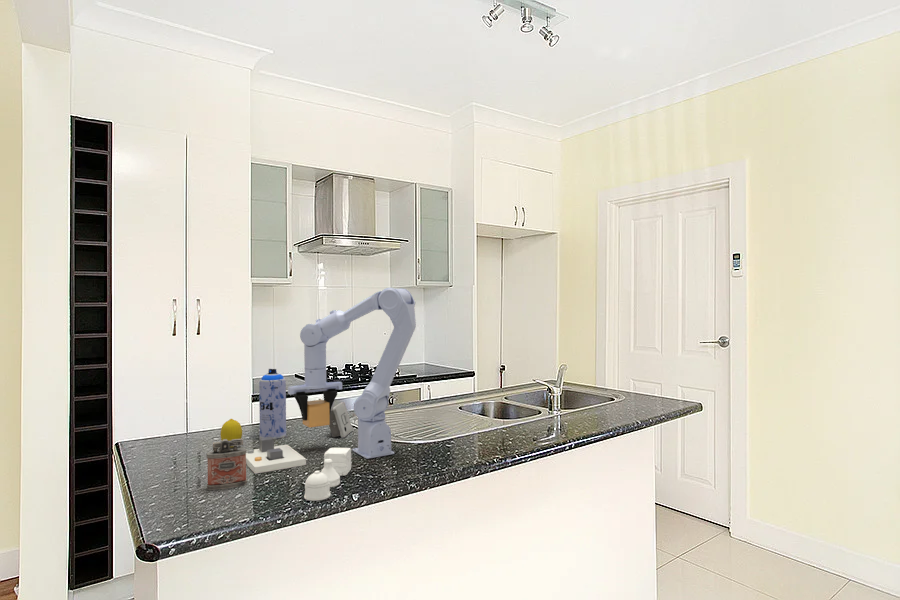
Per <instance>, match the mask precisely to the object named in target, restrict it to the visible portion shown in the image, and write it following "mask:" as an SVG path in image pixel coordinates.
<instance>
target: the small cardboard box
mask: <svg viewBox="0 0 900 600" xmlns="http://www.w3.org/2000/svg"><path fill="white" fill-rule="evenodd" d="M302 425H304V426H305V427H307V428H317V427H325V426H329V425H330V415H329V402H327V401H324V399H316V400H315V399H314V400H308V402H307V420H305V421H304V420H303V419H302Z"/></svg>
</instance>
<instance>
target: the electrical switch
mask: <svg viewBox="0 0 900 600" xmlns="http://www.w3.org/2000/svg"><path fill="white" fill-rule="evenodd" d="M328 426H329V431H330V434H331V436H332V437H331V438H337V437H340V438H341V439H344V438H346V437H347V436H348V435H349V434H351V432H352V431H353V426H352V422H351V419H350V415H349V411H348V408H347V406H346V403H345V402H344V401H342V402H339V403H338V404H336V405H335V406H332V408H331V411H330V425H328Z"/></svg>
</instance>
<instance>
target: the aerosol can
mask: <svg viewBox="0 0 900 600" xmlns="http://www.w3.org/2000/svg"><path fill="white" fill-rule="evenodd" d="M286 381H287V380H286V377H284V375H282V374H281V373H279V372H277V368H268V372H267V373H265V374H264V375H263V376H261V378H260V379H259V385H258V389H259V396H258V397H259V435H258V437H259V438H264V437H272V438H273V439H274V440H276V439H282V438H285V437H287V436H288V435H287V434H288V433H287V394H286V393H287V392H286V391H287V389H286V388H287V387H286V385H287V384H286V383H287V382H286Z"/></svg>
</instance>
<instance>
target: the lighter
mask: <svg viewBox="0 0 900 600" xmlns="http://www.w3.org/2000/svg"><path fill="white" fill-rule="evenodd" d="M243 445H244V439H243V438H241V439H233V440H232V441H228V440H227V439H223V440H220V441H214V442H212V451H209V452H207V453H206V459H207V483H206V490H209V491H212V490H224V489H231V488H237V487H243V486H246V485H247V484H248V479H247V464H246V453H247V450H248V449H247V448H245V447H243V448H241V447H240V448H238V446H243ZM230 446H234V447H233V448H231V447H230ZM218 448H219V449H218Z"/></svg>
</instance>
